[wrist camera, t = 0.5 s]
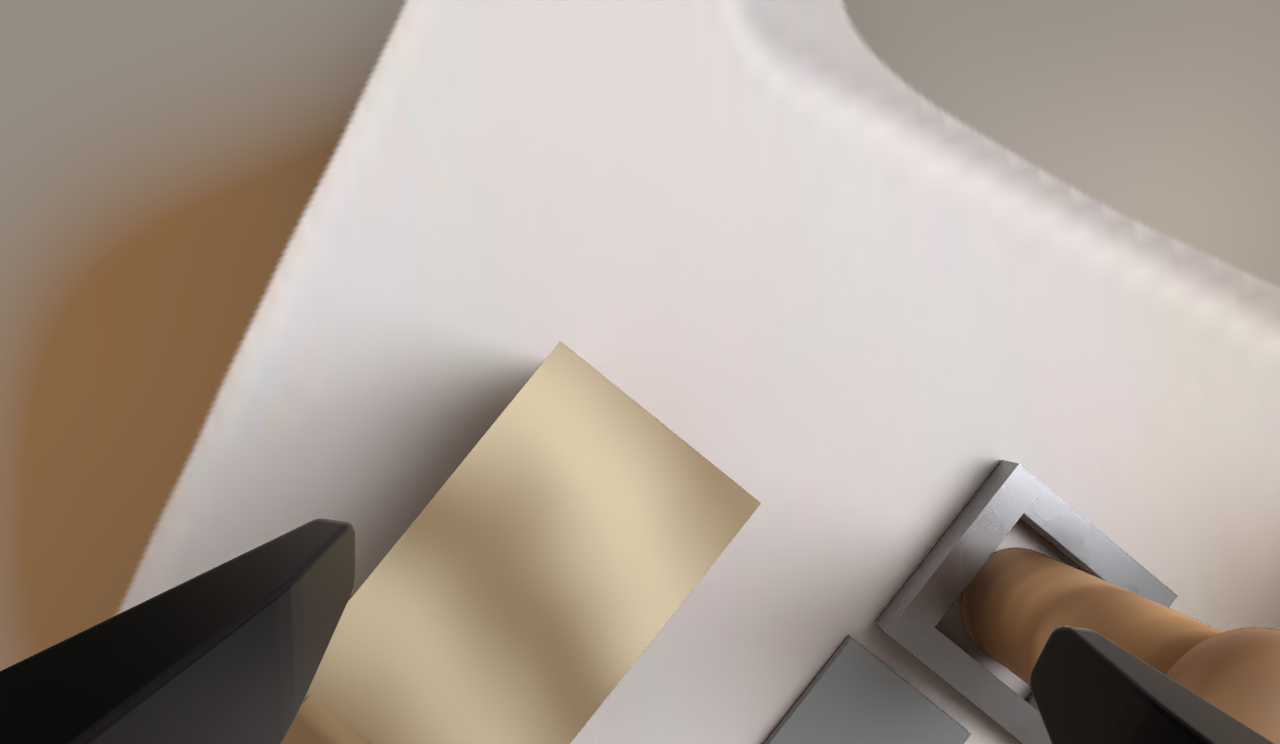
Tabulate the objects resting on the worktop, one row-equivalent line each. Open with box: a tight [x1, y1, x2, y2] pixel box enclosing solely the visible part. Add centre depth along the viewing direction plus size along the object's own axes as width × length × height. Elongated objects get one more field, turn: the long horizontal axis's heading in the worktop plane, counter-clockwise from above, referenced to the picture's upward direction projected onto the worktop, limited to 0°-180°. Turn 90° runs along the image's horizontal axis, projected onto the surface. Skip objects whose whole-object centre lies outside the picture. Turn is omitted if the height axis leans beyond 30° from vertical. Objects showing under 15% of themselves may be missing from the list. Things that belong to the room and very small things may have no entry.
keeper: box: [875, 460, 1177, 744], centre depth 24 cm, size 8×8×1 cm
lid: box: [281, 342, 761, 744], centre depth 17 cm, size 14×7×3 cm, turn 141°
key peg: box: [961, 548, 1280, 744], centre depth 20 cm, size 6×6×10 cm
